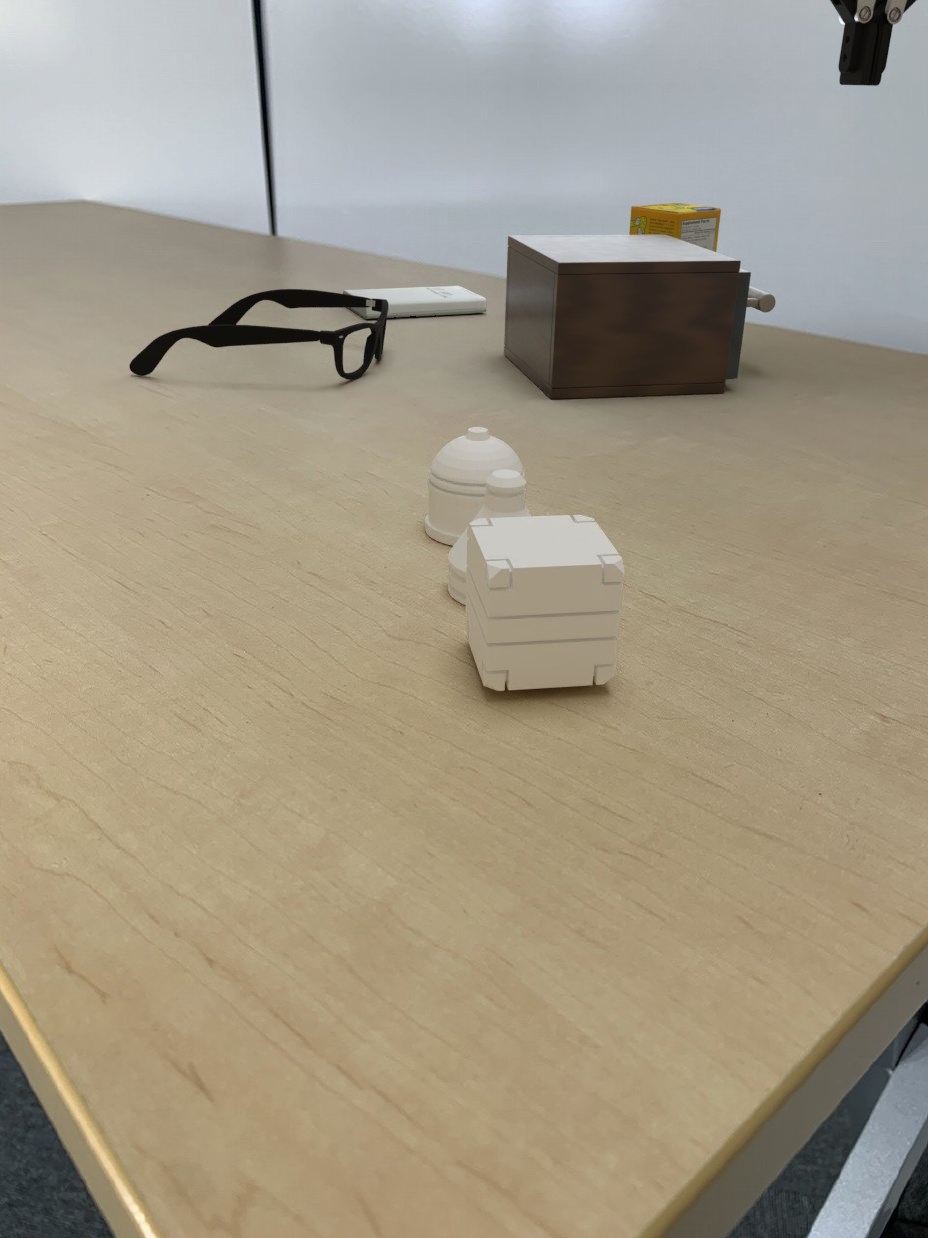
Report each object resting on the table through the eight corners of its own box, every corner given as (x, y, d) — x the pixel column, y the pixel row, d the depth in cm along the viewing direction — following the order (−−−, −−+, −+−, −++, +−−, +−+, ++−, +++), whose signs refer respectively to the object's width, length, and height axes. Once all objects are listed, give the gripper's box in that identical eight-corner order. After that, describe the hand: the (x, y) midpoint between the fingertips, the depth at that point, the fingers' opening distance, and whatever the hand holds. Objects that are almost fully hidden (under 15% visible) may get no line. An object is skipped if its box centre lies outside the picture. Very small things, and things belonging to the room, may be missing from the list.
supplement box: (661, 319, 108) (672, 201, 103) (709, 330, 104) (723, 207, 99) (619, 326, 105) (629, 204, 100) (667, 338, 100) (680, 210, 96)
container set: (617, 693, 42) (629, 560, 39) (481, 701, 41) (485, 566, 39) (515, 509, 60) (519, 409, 57) (419, 512, 59) (419, 412, 56)
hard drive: (342, 305, 112) (457, 299, 116) (366, 320, 105) (486, 313, 109) (342, 288, 111) (457, 283, 115) (366, 303, 104) (487, 296, 108)
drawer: (717, 339, 96) (728, 246, 92) (788, 377, 84) (804, 271, 81) (532, 344, 93) (536, 247, 89) (579, 384, 81) (586, 274, 77)
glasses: (348, 405, 81) (349, 336, 78) (123, 377, 83) (118, 310, 81) (404, 356, 95) (406, 297, 93) (211, 333, 98) (209, 275, 96)
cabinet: (655, 350, 96) (666, 234, 92) (724, 393, 83) (741, 260, 79) (503, 354, 93) (507, 235, 89) (551, 399, 80) (558, 262, 76)
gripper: (834, -241, 69) (790, 83, 78) (1041, -223, 72) (978, 87, 80) (779, -213, 76) (744, 82, 84) (972, -198, 79) (920, 86, 87)
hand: (859, 84), depth 82 cm, fingers closed
